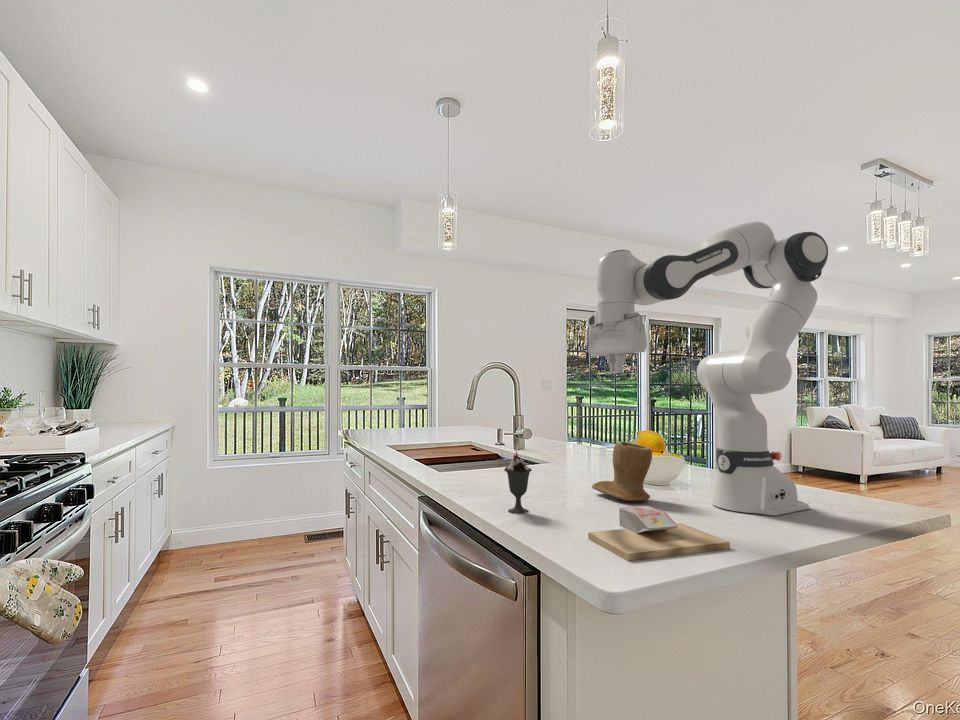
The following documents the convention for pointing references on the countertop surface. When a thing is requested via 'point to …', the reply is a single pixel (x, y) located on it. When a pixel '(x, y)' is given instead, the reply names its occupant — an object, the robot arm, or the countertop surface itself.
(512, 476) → the sundae
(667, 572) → the countertop surface
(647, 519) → the white printed carton
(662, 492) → the countertop surface
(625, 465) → the brown suede boot
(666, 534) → the oak board
